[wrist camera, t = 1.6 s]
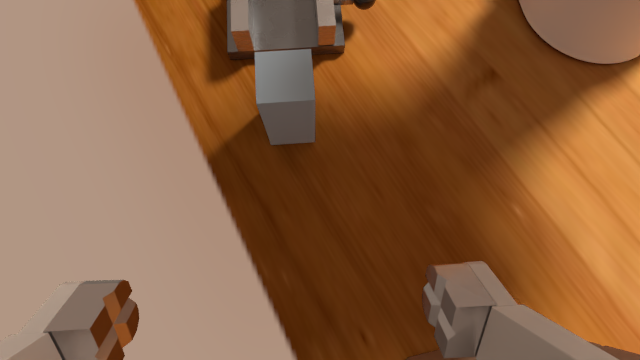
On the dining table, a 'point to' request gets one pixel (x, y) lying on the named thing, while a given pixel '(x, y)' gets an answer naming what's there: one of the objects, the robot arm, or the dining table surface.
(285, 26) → the vise
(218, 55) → the dining table surface
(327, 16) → the free jaw
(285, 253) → the dining table surface
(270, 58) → the steel block
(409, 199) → the dining table surface
